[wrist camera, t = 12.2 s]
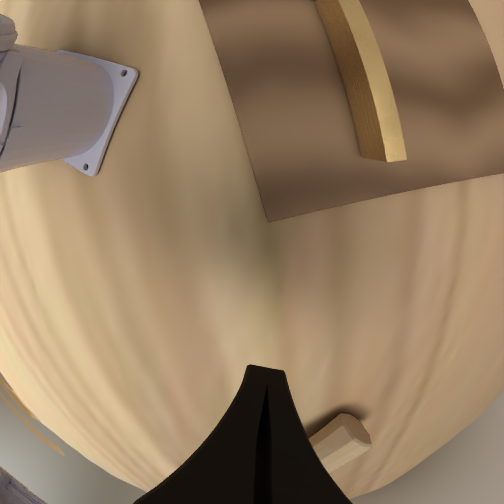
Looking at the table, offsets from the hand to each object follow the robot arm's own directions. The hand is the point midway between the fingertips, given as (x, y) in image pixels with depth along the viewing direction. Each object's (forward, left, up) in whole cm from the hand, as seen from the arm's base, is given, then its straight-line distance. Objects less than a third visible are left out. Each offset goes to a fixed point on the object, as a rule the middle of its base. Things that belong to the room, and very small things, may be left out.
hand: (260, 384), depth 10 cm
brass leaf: (-3, +14, -8) cm, 17 cm away
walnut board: (-5, +20, -9) cm, 23 cm away
